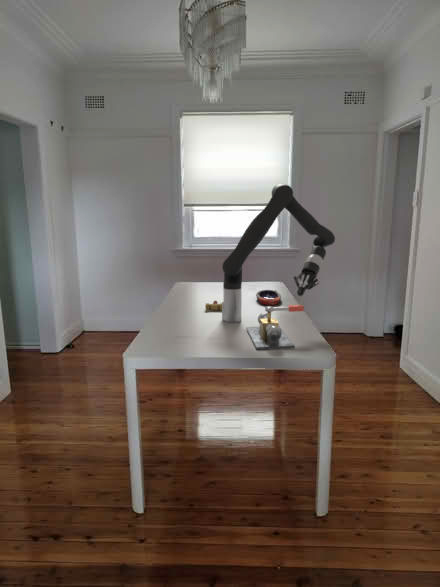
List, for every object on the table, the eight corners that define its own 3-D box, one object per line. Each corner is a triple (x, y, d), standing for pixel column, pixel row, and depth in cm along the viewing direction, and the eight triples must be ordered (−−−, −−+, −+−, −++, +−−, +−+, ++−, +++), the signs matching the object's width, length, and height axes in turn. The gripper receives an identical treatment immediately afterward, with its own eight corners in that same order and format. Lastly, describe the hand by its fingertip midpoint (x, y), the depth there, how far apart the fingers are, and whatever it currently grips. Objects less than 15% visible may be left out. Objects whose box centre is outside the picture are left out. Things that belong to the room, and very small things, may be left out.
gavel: (207, 298, 234) (223, 298, 233) (207, 305, 234) (223, 305, 234) (205, 304, 213) (223, 304, 213) (205, 312, 213) (223, 312, 213)
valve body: (246, 329, 181) (246, 304, 178) (279, 328, 182) (279, 303, 180) (256, 349, 155) (256, 321, 152) (294, 348, 156) (295, 320, 153)
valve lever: (266, 312, 164) (266, 307, 163) (264, 310, 167) (264, 305, 167) (303, 311, 165) (304, 306, 165) (301, 309, 169) (301, 304, 168)
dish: (279, 295, 251) (279, 288, 250) (282, 307, 221) (282, 299, 220) (255, 295, 252) (256, 288, 251) (256, 307, 223) (256, 299, 221)
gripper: (297, 259, 182) (284, 288, 176) (323, 262, 174) (310, 292, 167) (302, 269, 187) (289, 297, 181) (327, 271, 179) (314, 301, 173)
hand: (299, 295), depth 174 cm, fingers closed
